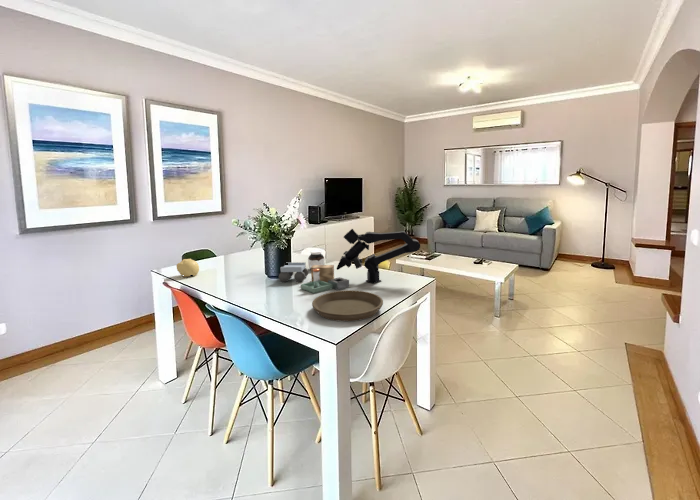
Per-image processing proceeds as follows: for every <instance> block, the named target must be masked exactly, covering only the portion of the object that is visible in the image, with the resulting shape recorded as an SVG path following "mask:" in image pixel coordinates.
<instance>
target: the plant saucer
mask: <svg viewBox="0 0 700 500" xmlns="http://www.w3.org/2000/svg"><path fill="white" fill-rule="evenodd" d="M383 305H384V300H383V298H382V297H381V296H379V295H377V294H375V293H373V292H368V291H363V290H351V289H350V290H348V289H347V290H335V291H332V292H326V293H324V294H321V295H319V296H317V297H316V298H314V299H313V301H312V302H311V306H312V308H313V310H314V311H315V312H316V313H318V315H319V316H320V317H321V318H322V317H323V318H325V319H327V320H330V321H334V322H335V321H337V322H355V321H361V320H366V319H368V318H371V317H373V316H375V315H376V314H377V313H378V311H379V310H380V309H382V306H383Z"/></svg>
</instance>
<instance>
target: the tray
mask: <svg viewBox="0 0 700 500" xmlns="http://www.w3.org/2000/svg"><path fill="white" fill-rule="evenodd" d="M300 289H301V290H303V291H305V292H309V293H311V294H313V295H314V294H319V293H323V292H326V291H330V290H334V289H333V284H330V283H327V282H324V281H321V280H320V287H318V288H314V281H313V282H312V281H310V282H305V283H301V284H300Z"/></svg>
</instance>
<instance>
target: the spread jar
mask: <svg viewBox="0 0 700 500" xmlns="http://www.w3.org/2000/svg"><path fill="white" fill-rule="evenodd" d="M307 264H308V265H307V266H308V267H309V269H310V270H311V267H312V266H313V265H326V264H325V256H324V255H323V254H322V251H321V250H315V249H314V250H311V251H310V254H309V256H308V259H307Z"/></svg>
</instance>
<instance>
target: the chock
mask: <svg viewBox="0 0 700 500" xmlns="http://www.w3.org/2000/svg"><path fill="white" fill-rule="evenodd" d="M316 268H318V269H320V271H319V276H320V280H321V281H324V282H327V283H328V280H330V279H335V265H334V264H325V265H313V266H312V267H311V269H310V274H311V282H313V281H314V280H313V269H316Z"/></svg>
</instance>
